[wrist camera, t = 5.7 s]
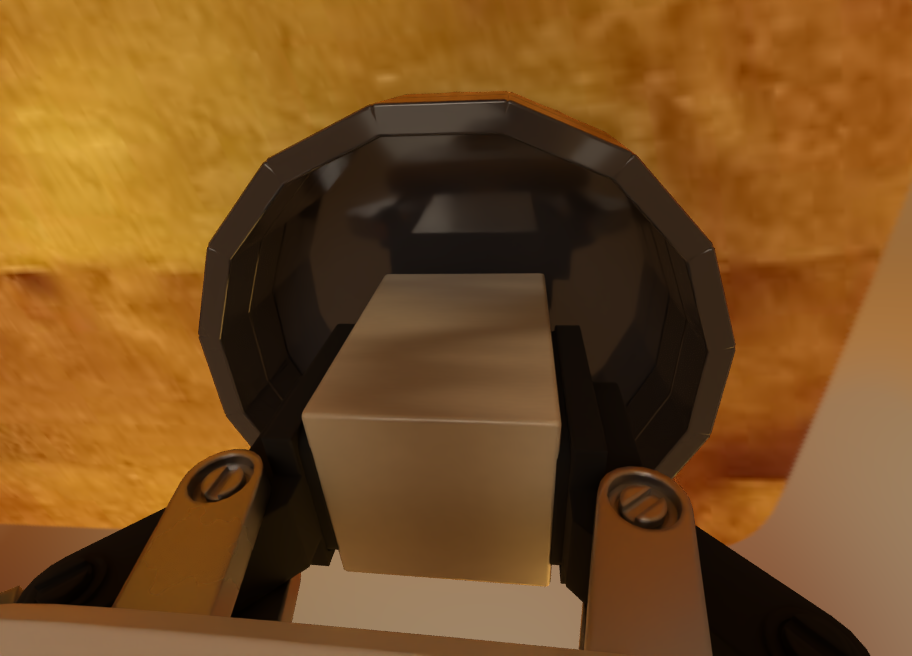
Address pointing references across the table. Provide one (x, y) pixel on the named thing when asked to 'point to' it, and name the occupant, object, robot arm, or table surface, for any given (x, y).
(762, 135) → the table surface
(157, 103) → the table surface
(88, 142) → the table surface
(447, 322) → the block
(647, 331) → the pan
